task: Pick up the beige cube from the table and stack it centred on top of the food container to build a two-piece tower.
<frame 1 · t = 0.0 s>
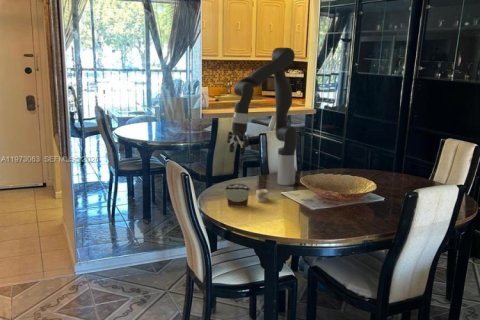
hand: (236, 153, 226), 22 cm above the table, tool pointing down, fingers open, 8 cm apart
beige cube: (262, 200, 224), on the table
food container: (238, 204, 218), on the table
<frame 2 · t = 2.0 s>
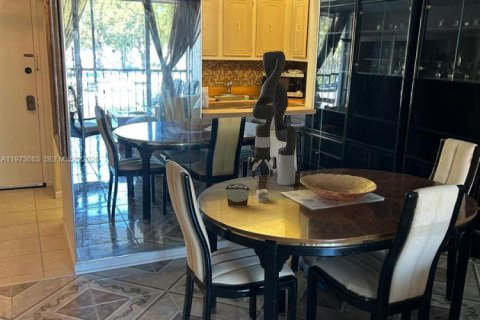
hand: (261, 177, 221), 12 cm above the table, tool pointing down, fingers open, 8 cm apart
nothing on the table moved.
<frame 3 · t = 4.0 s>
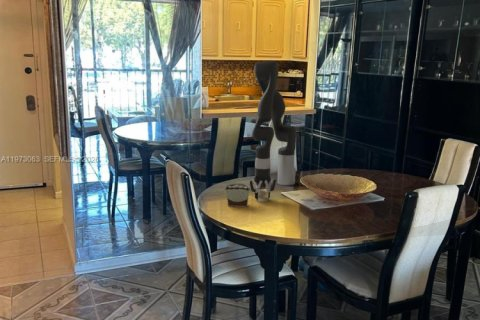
hand: (262, 199, 224), 1 cm above the table, tool pointing down, fingers closed on beige cube, 5 cm apart
beige cube: (262, 200, 224), on the table, touching gripper
everything else where it was.
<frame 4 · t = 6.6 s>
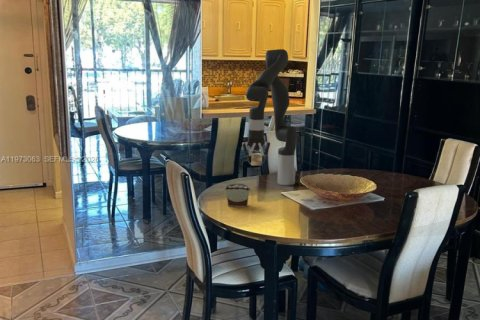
hand: (255, 162, 217), 20 cm above the table, tool pointing down, fingers closed on beige cube, 5 cm apart
beige cube: (255, 164, 217), point 19 cm above the table, touching gripper
everything else where it was.
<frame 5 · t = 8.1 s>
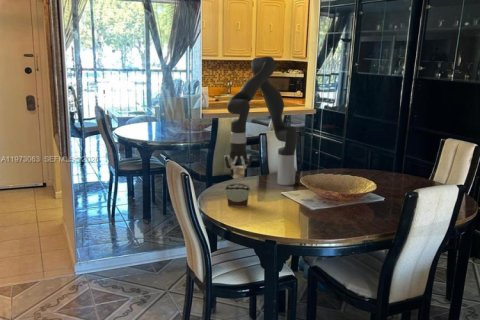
hand: (238, 175, 214), 14 cm above the table, tool pointing down, fingers closed on beige cube, 5 cm apart
beige cube: (238, 177, 215), point 14 cm above the table, touching gripper
everything else where it was.
when the fingers open (12 cm above the table, at t = 9.4 s): beige cube drops 1 cm, resting on food container.
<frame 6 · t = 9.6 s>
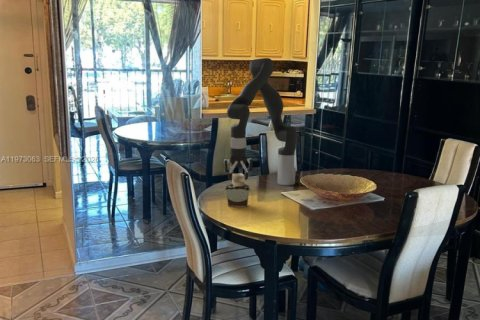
hand: (238, 179, 215), 12 cm above the table, tool pointing down, fingers open, 6 cm apart
beige cube: (238, 184, 215), point 10 cm above the table, touching food container
food container: (238, 204, 218), on the table, touching beige cube
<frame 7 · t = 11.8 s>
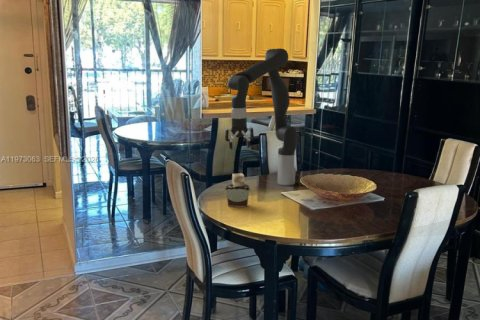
hand: (239, 148, 223), 25 cm above the table, tool pointing down, fingers open, 8 cm apart
nothing on the table moved.
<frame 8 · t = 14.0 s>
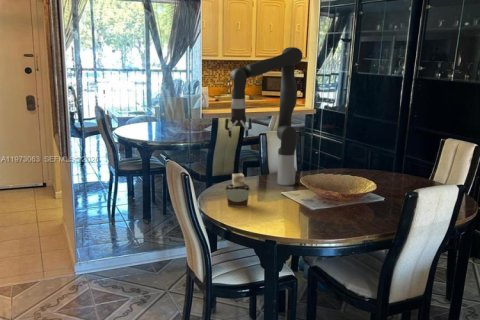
hand: (238, 137, 239), 28 cm above the table, tool pointing down, fingers open, 8 cm apart
nothing on the table moved.
at the end: beige cube inside the target area on the food container (0.2 cm from its centre), point 10.2 cm above the food container's base; beige cube tilted 0°; the gripper is holding nothing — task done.
